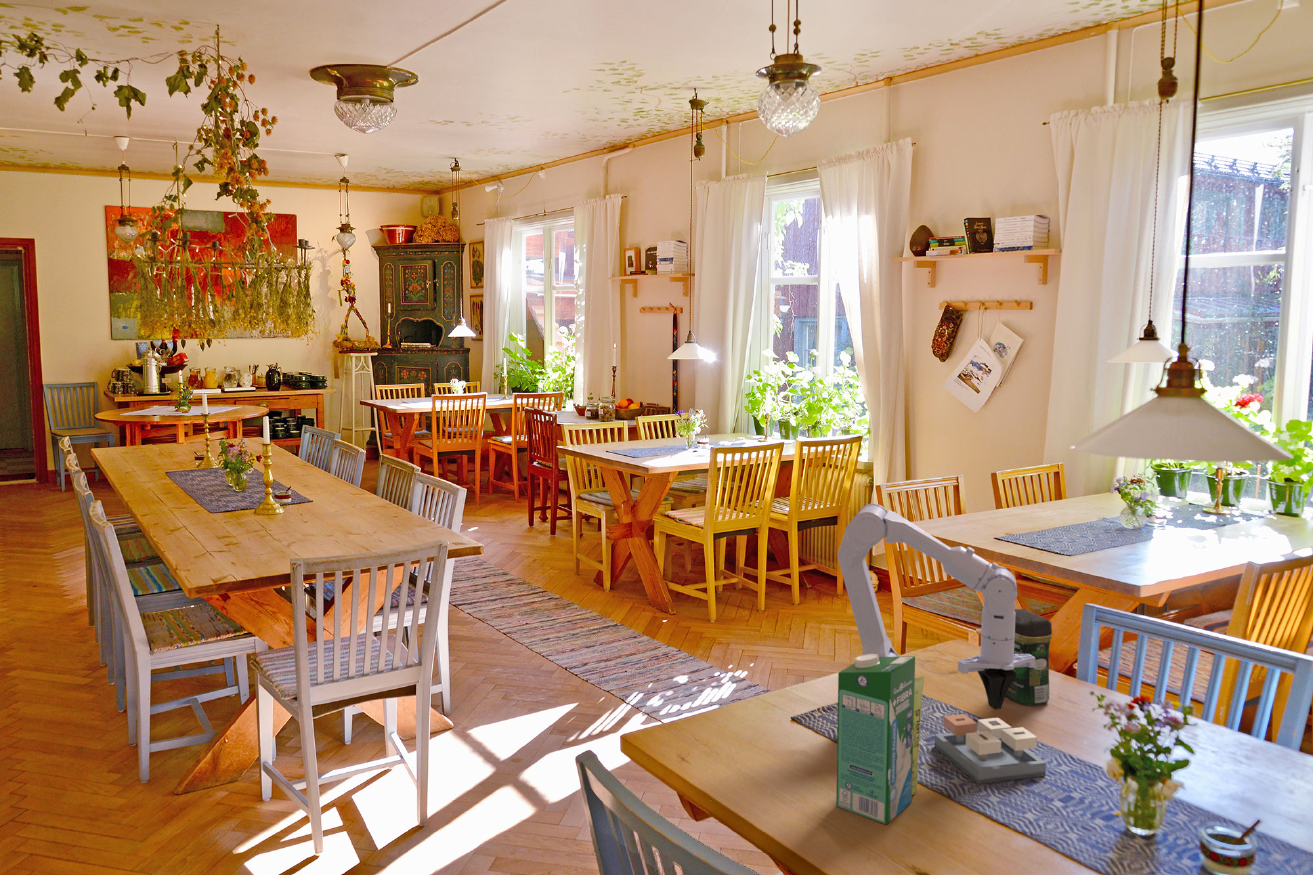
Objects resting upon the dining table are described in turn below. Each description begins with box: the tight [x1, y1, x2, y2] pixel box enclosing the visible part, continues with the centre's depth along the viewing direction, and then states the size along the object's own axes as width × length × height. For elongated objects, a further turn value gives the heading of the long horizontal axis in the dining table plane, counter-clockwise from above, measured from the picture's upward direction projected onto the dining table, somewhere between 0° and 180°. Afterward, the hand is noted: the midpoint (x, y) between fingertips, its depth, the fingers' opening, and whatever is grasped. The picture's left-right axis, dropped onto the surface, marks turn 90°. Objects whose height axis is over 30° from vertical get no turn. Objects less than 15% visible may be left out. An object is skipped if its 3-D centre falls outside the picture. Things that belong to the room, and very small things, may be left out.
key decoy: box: [943, 713, 978, 742], centre depth 166 cm, size 4×4×4 cm
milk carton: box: [835, 654, 916, 825], centre depth 148 cm, size 9×9×25 cm
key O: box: [977, 717, 1012, 739], centre depth 168 cm, size 4×4×4 cm
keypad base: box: [934, 729, 1047, 785], centre depth 164 cm, size 13×14×2 cm
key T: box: [1001, 726, 1038, 757], centre depth 161 cm, size 4×4×4 cm
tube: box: [912, 676, 925, 796], centre depth 152 cm, size 6×5×20 cm
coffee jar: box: [1005, 608, 1053, 707], centre depth 191 cm, size 10×8×19 cm
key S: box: [966, 731, 1001, 761], centre depth 159 cm, size 4×4×4 cm
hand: (994, 707), depth 167 cm, fingers closed
